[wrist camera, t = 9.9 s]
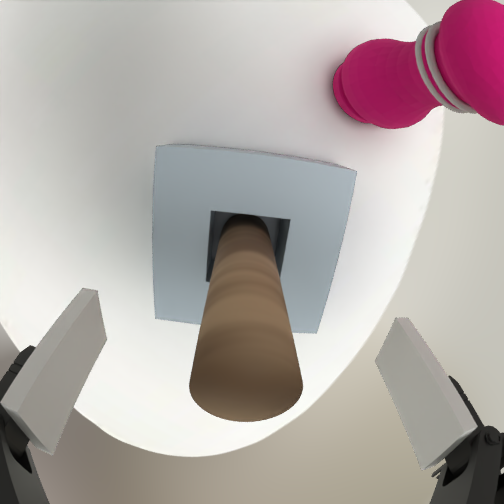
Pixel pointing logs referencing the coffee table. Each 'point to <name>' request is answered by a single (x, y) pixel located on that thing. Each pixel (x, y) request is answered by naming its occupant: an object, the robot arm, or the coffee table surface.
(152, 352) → the coffee table surface
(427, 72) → the pepper mill
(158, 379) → the coffee table surface
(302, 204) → the bore block
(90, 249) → the coffee table surface
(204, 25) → the coffee table surface
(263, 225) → the dowel
